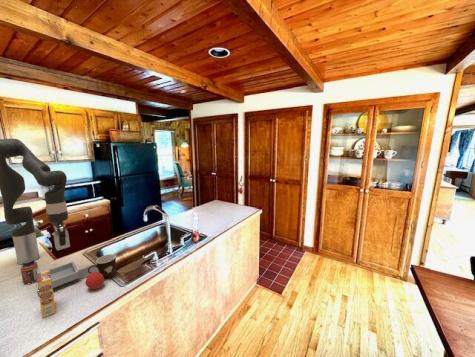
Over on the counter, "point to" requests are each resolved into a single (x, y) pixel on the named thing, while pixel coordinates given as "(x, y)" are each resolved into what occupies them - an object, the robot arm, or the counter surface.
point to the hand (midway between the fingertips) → (62, 243)
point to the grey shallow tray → (63, 274)
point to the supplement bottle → (29, 271)
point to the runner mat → (82, 274)
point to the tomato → (94, 280)
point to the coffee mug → (106, 266)
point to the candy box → (46, 293)
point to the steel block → (57, 243)
